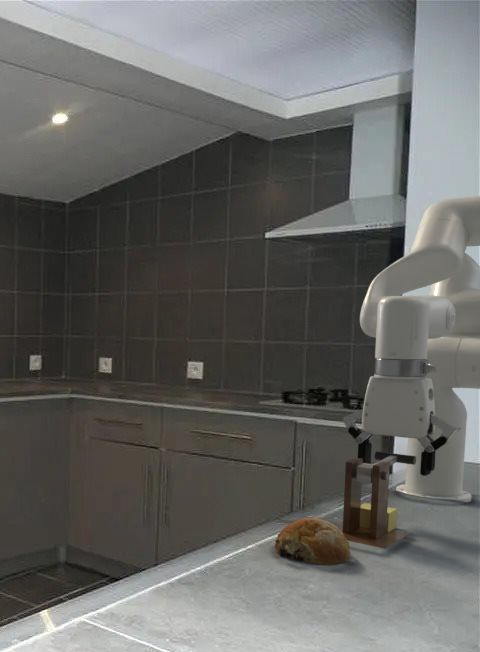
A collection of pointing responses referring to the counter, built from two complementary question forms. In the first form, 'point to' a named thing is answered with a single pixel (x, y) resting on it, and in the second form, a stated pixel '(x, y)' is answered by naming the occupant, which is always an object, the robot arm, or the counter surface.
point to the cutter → (378, 507)
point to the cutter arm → (367, 469)
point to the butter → (366, 511)
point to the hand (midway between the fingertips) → (394, 469)
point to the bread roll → (313, 542)
